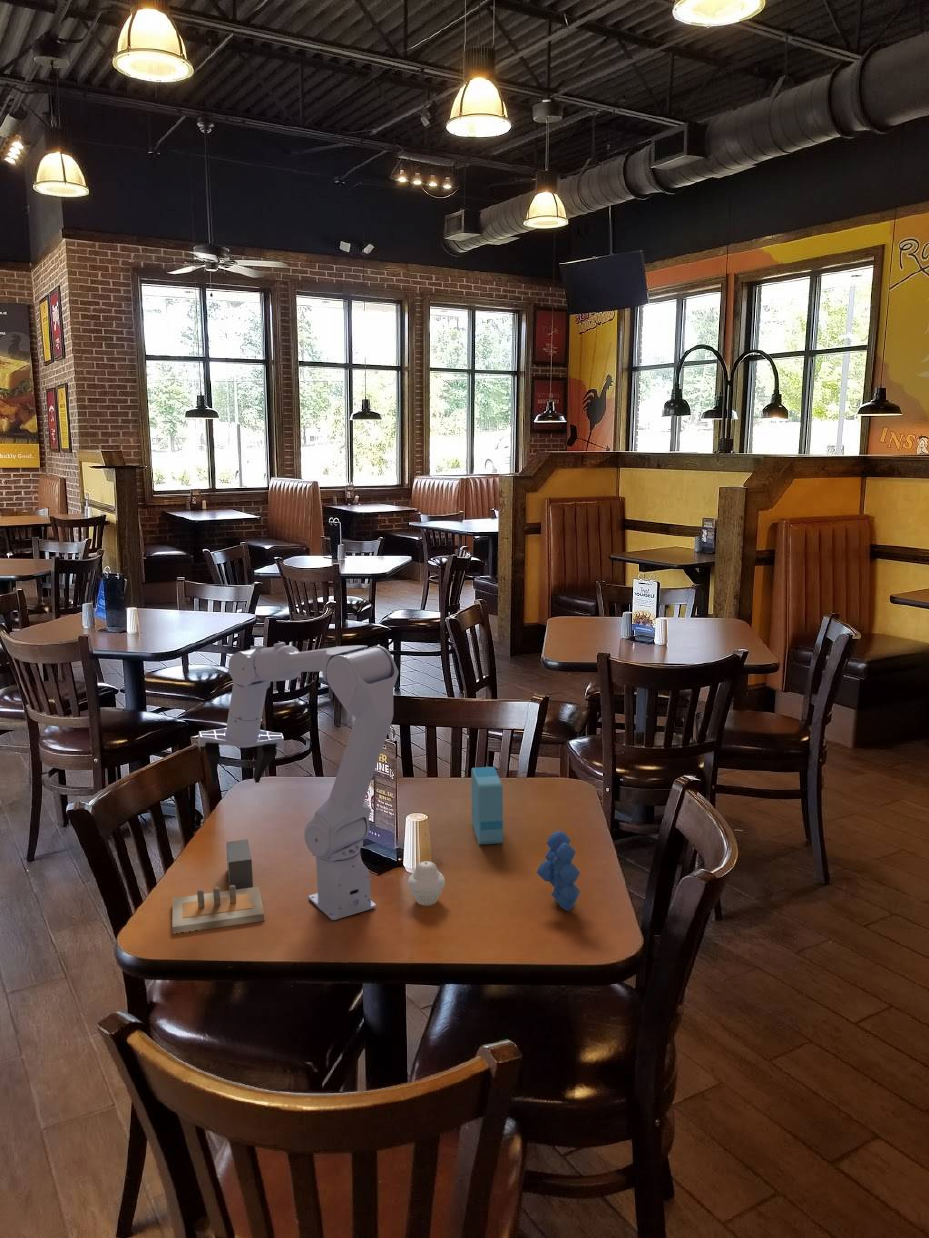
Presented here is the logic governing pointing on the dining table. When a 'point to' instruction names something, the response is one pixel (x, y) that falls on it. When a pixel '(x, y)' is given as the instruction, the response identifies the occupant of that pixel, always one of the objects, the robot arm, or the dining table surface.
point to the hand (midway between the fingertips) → (234, 779)
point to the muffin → (426, 883)
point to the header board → (217, 909)
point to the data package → (487, 805)
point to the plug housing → (239, 864)
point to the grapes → (560, 870)
